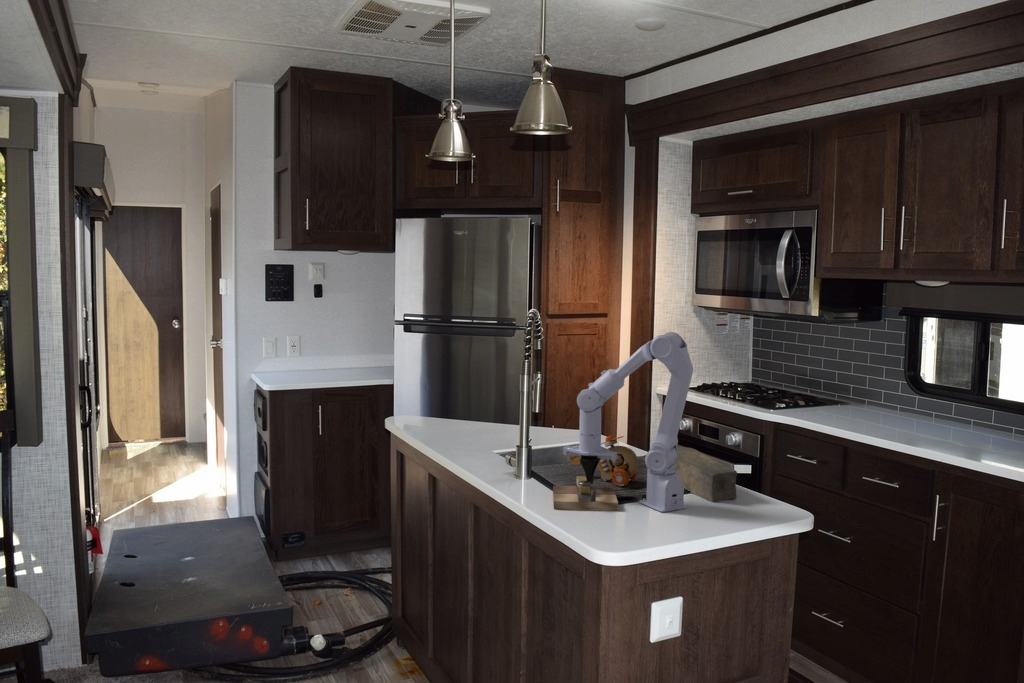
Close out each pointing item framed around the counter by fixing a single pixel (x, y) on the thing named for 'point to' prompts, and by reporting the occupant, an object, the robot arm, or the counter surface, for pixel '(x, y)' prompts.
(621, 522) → the counter surface
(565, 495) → the lock board
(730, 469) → the weathered wooden bar
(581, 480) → the swing bar
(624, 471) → the toy helicopter
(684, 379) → the robot arm
